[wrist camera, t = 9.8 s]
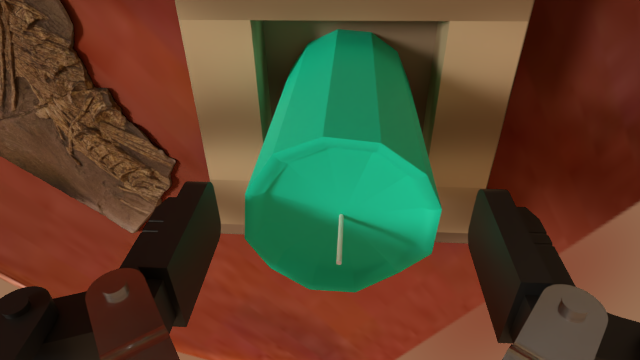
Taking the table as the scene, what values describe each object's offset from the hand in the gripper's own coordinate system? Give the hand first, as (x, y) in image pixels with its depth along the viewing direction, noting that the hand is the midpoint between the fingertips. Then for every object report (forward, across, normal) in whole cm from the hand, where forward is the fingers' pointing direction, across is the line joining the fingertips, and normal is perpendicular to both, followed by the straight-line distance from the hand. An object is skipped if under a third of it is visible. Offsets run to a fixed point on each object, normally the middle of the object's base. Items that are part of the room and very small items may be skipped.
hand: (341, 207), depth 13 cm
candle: (+10, 0, 0) cm, 10 cm away
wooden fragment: (+12, +19, -1) cm, 22 cm away
